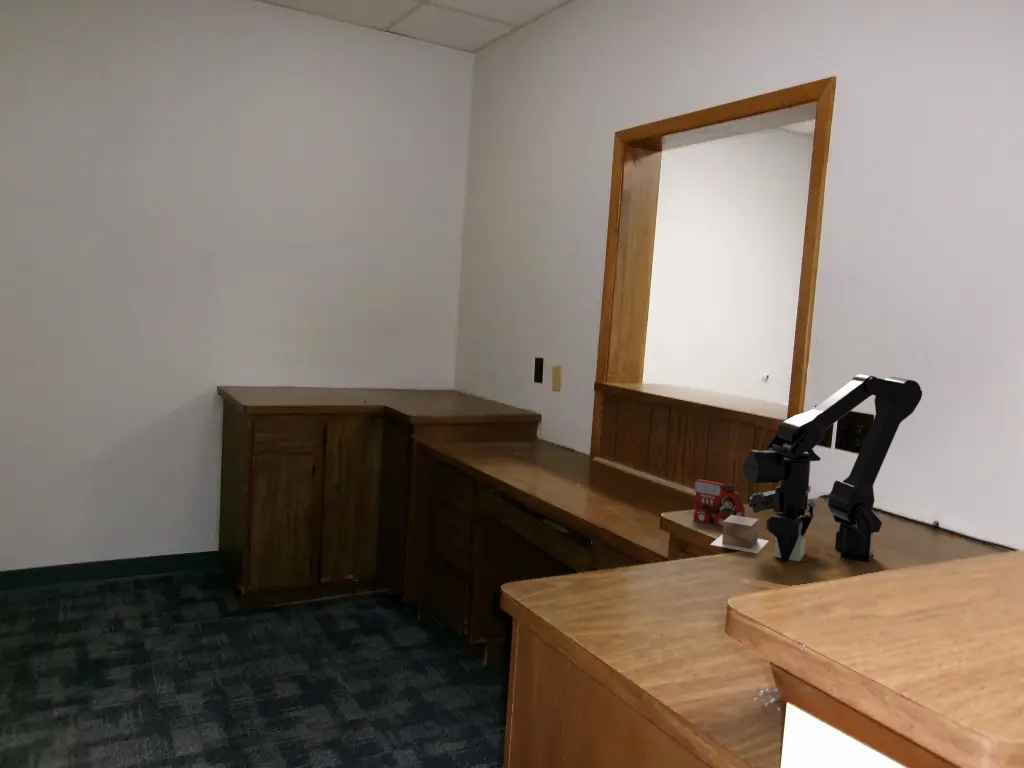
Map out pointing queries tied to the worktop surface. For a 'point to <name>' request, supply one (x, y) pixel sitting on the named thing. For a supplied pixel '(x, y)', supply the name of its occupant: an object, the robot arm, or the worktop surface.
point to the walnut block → (740, 531)
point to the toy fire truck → (716, 502)
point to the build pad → (754, 549)
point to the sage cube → (797, 551)
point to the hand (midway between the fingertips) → (789, 555)
